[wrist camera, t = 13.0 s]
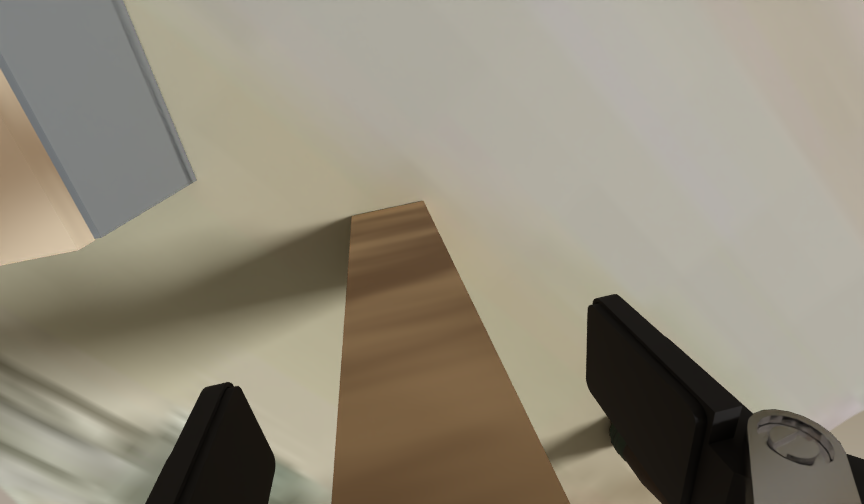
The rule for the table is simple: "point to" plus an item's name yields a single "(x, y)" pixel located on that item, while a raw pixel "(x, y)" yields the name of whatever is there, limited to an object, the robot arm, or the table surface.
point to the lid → (32, 192)
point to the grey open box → (93, 105)
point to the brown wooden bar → (425, 381)
